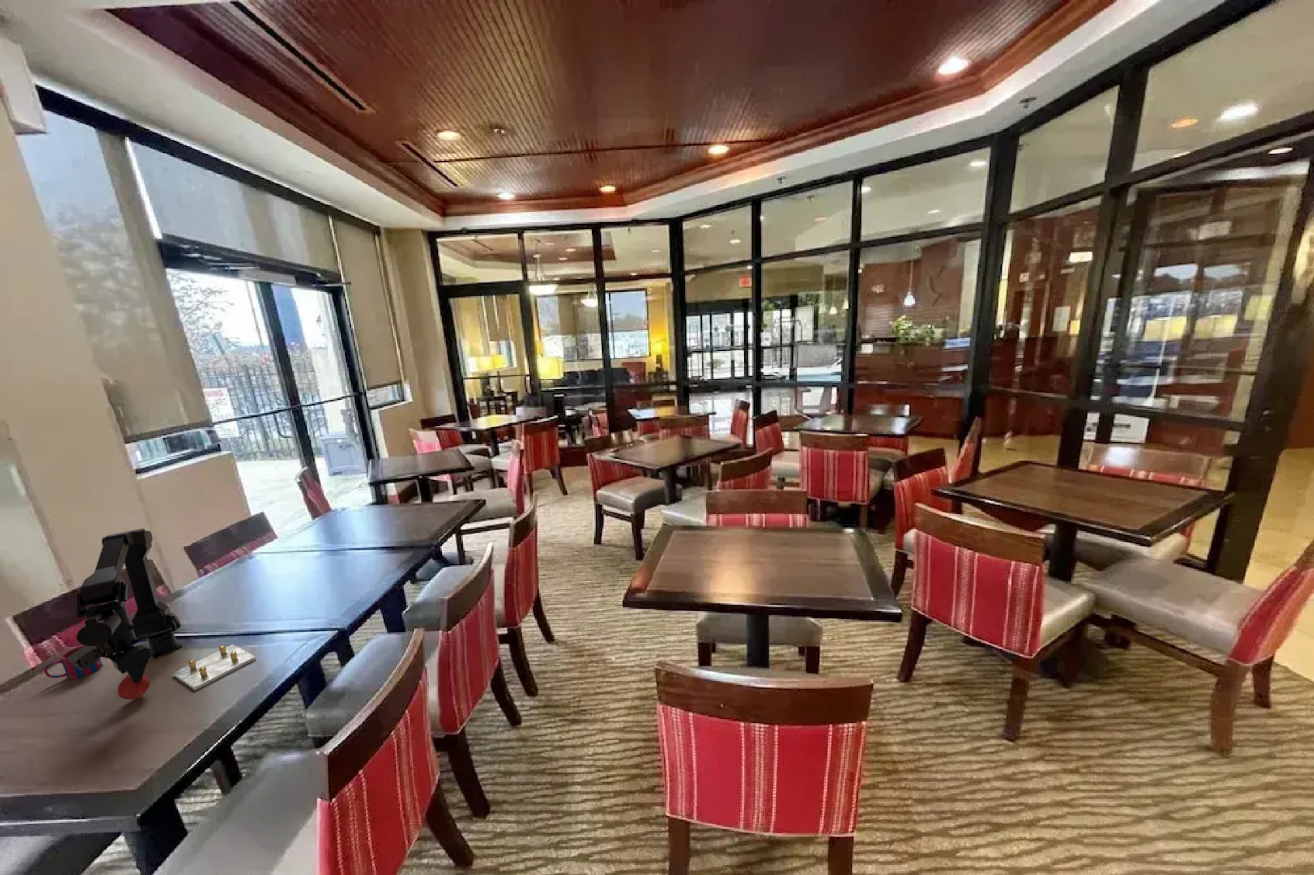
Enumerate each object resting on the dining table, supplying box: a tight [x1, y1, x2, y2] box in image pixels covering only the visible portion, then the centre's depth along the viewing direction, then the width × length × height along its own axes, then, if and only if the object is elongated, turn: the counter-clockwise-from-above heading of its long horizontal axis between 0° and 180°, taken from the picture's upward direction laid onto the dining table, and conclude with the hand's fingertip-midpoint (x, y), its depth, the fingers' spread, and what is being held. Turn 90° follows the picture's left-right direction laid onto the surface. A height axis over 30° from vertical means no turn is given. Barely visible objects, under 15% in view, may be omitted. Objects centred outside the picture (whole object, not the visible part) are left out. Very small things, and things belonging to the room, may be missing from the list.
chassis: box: [172, 644, 257, 692], centre depth 138 cm, size 14×14×4 cm
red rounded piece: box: [117, 674, 151, 701], centre depth 127 cm, size 6×6×8 cm
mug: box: [43, 645, 103, 680], centre depth 138 cm, size 7×10×7 cm
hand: (131, 677), depth 126 cm, fingers open, 9 cm apart
